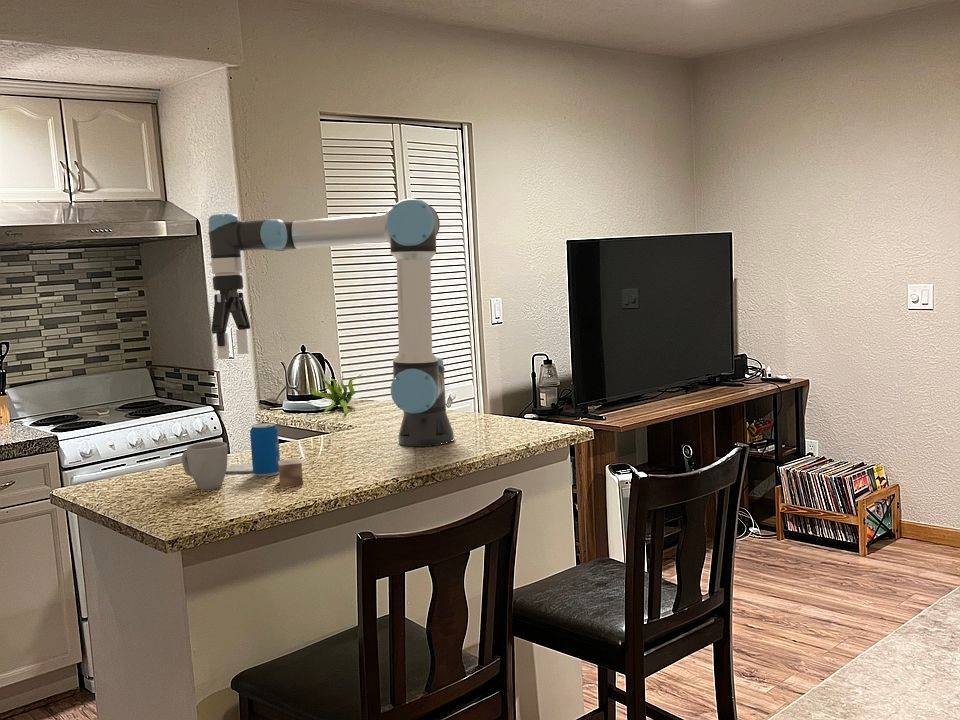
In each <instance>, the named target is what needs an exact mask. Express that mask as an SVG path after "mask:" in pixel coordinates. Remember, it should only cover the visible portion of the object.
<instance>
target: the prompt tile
mask: <svg viewBox="0 0 960 720" xmlns="http://www.w3.org/2000/svg"><path fill="white" fill-rule="evenodd" d="M241 474H242V475H244V474H245V475H246V474H249V475H250V474H254V473H253V466H252V463H233V464H231V465H230V466H227V469H226V474H225V475H241Z"/></svg>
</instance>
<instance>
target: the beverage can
mask: <svg viewBox="0 0 960 720" xmlns="http://www.w3.org/2000/svg"><path fill="white" fill-rule="evenodd" d="M278 430H279V429H278V427H277V426H276V423H275V422H264V423H263V422H262V423H255V424H252V425H251V429H250V430H249V435H250V437H249V438H250V450H251V464H252V466H253V473H252V474H254V475H255V476H256V477H260V478H264V477H265V478H266V477H273V476H276V475H279V467H278V461H281V458H280V454H281V453H280V441H279V431H278Z"/></svg>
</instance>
